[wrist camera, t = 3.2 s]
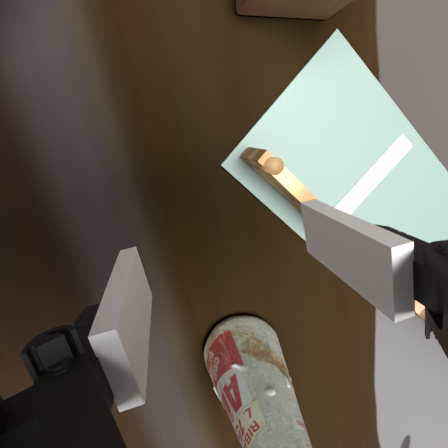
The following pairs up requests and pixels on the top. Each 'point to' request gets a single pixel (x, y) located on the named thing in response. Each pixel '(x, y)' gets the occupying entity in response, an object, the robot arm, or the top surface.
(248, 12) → the wooden block
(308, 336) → the top surface
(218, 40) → the top surface
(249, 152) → the fence panel
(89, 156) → the top surface
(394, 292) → the robot arm
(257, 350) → the bottle
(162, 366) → the top surface
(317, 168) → the board
